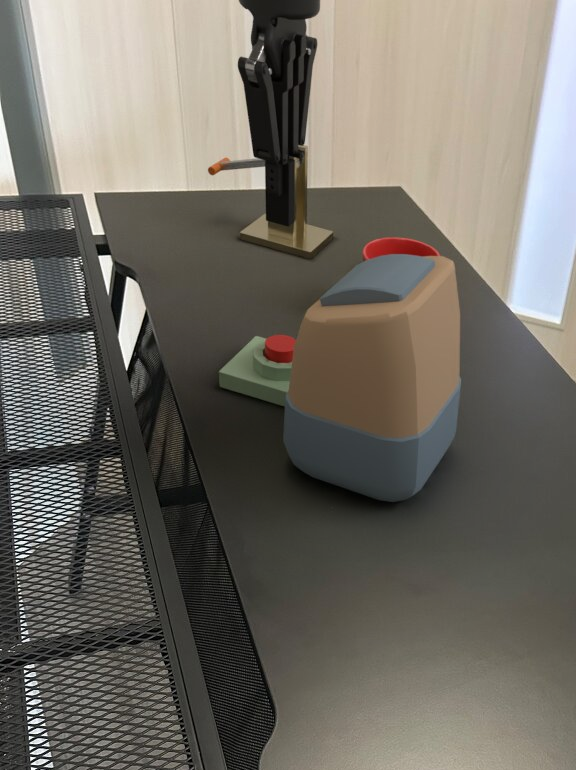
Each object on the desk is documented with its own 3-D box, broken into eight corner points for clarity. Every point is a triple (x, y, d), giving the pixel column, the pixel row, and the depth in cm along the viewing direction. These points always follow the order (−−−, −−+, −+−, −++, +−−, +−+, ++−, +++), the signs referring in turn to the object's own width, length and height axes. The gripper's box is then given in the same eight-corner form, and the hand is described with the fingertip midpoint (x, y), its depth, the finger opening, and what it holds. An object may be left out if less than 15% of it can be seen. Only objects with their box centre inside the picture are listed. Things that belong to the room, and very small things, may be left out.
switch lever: (210, 179, 131) (205, 163, 130) (226, 170, 135) (221, 153, 133) (290, 172, 126) (286, 155, 125) (304, 162, 130) (300, 145, 128)
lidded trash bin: (336, 403, 106) (345, 215, 90) (461, 444, 104) (493, 259, 87) (271, 476, 95) (267, 275, 78) (410, 524, 92) (436, 327, 76)
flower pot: (343, 309, 123) (347, 242, 116) (405, 295, 129) (412, 231, 122) (384, 344, 118) (390, 276, 111) (447, 328, 123) (456, 263, 116)
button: (259, 358, 104) (259, 345, 103) (273, 344, 107) (273, 331, 106) (289, 367, 104) (289, 354, 103) (303, 352, 107) (303, 340, 105)
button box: (219, 387, 105) (217, 358, 102) (256, 350, 112) (255, 322, 109) (309, 414, 104) (309, 385, 101) (340, 375, 111) (342, 348, 108)
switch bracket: (240, 239, 134) (236, 145, 124) (265, 220, 140) (264, 129, 130) (310, 259, 133) (312, 166, 123) (333, 238, 139) (336, 148, 129)
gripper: (286, -22, 72) (285, 252, 89) (345, -42, 81) (335, 210, 98) (205, -41, 73) (220, 233, 90) (273, -59, 82) (275, 193, 99)
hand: (280, 221), depth 94 cm, fingers closed
